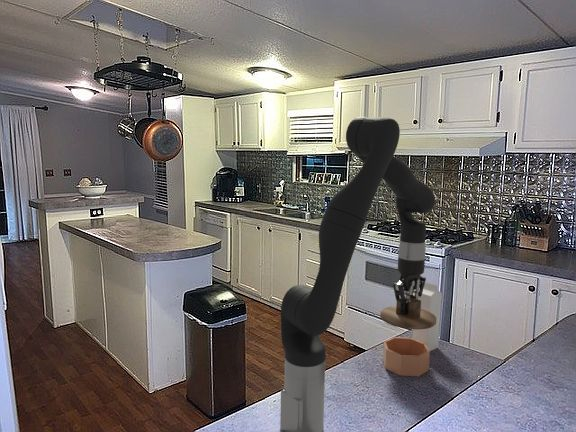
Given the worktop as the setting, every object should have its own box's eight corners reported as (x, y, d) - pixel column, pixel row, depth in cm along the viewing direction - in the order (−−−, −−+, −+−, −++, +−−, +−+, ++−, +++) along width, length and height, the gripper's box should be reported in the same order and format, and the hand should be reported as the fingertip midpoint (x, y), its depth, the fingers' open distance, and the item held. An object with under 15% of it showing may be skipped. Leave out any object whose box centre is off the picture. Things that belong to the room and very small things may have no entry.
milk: (427, 352, 138) (431, 287, 134) (411, 345, 143) (415, 282, 139) (438, 347, 141) (442, 283, 138) (422, 341, 146) (426, 279, 143)
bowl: (411, 380, 120) (412, 360, 120) (375, 363, 130) (376, 345, 129) (435, 366, 129) (436, 347, 128) (399, 351, 138) (400, 334, 137)
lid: (416, 334, 116) (417, 313, 115) (369, 316, 128) (370, 297, 127) (446, 320, 126) (448, 300, 125) (400, 305, 138) (401, 287, 137)
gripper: (408, 262, 117) (405, 322, 119) (436, 255, 126) (432, 311, 129) (386, 257, 122) (383, 314, 125) (413, 250, 132) (410, 304, 134)
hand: (408, 312), depth 127 cm, fingers closed on lid, 3 cm apart
